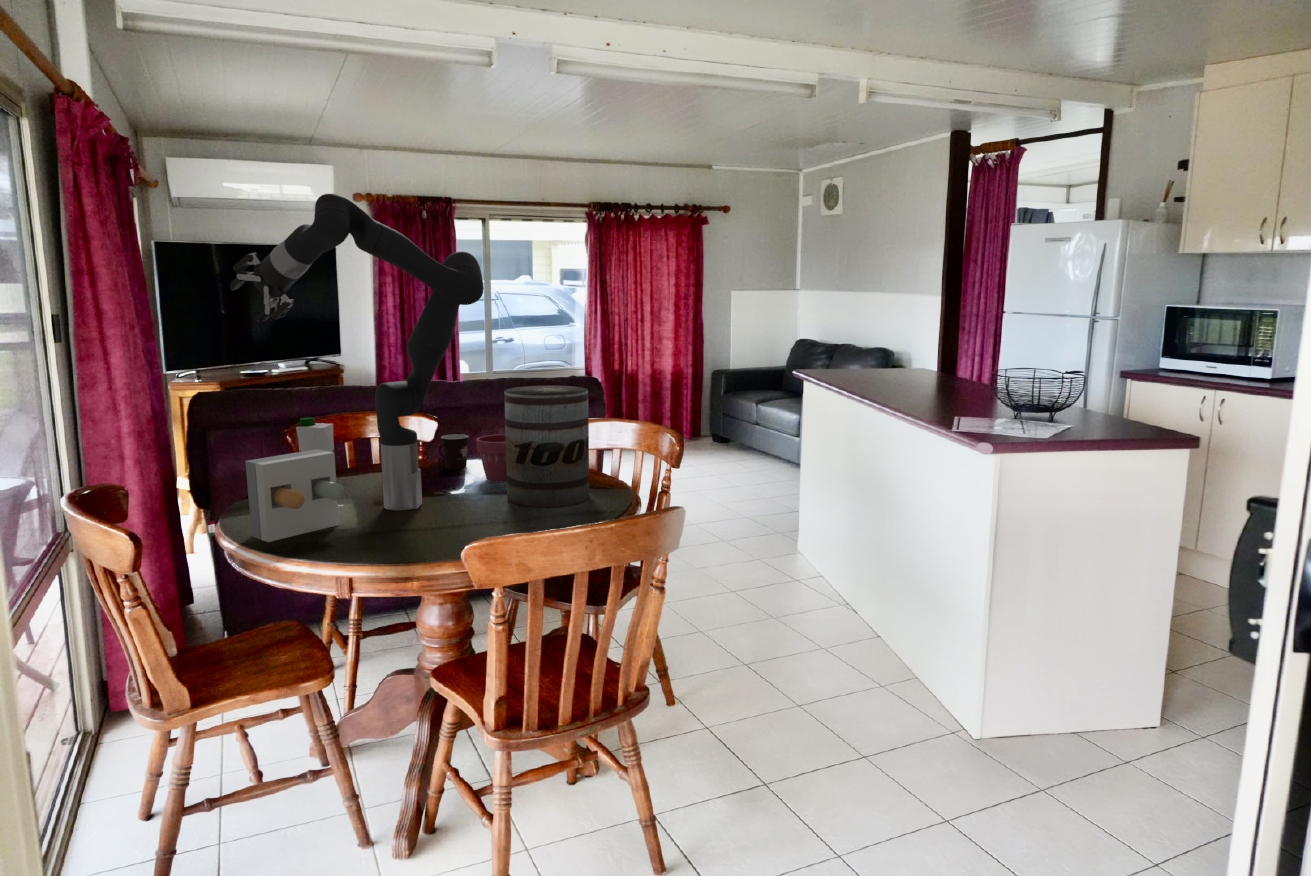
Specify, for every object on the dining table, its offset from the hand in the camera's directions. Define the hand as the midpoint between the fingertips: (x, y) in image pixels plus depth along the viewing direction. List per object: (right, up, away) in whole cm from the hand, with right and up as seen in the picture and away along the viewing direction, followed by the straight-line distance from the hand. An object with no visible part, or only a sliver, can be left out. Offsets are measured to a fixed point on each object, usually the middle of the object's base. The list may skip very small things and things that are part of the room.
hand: (246, 304), depth 190 cm
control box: (+6, -52, +13) cm, 54 cm away
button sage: (+14, -44, +11) cm, 48 cm away
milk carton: (-7, -44, +58) cm, 73 cm away
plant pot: (+45, -43, +68) cm, 92 cm away
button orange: (+8, -46, +3) cm, 47 cm away
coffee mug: (+26, -40, +83) cm, 96 cm away
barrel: (+62, -47, +45) cm, 90 cm away
